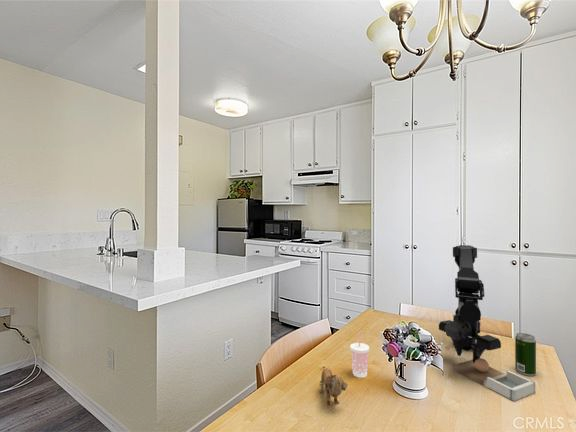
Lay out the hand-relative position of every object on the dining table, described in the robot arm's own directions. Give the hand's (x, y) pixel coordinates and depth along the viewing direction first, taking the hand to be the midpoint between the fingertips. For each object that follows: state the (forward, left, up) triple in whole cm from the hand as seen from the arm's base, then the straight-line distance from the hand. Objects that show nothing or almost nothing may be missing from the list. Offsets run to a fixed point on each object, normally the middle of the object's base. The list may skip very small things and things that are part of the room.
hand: (467, 359), depth 103 cm
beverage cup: (-12, -35, -4) cm, 37 cm away
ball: (+5, 0, 0) cm, 5 cm away
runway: (+4, 0, -3) cm, 5 cm away
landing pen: (+14, 0, -3) cm, 14 cm away
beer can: (+9, +15, -4) cm, 18 cm away
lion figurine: (-5, -50, -4) cm, 50 cm away
